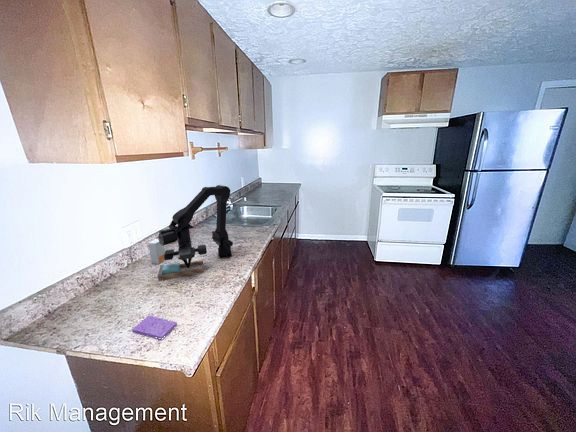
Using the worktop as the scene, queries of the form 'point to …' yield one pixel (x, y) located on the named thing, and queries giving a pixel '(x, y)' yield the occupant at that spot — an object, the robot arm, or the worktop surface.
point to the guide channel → (183, 273)
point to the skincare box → (156, 251)
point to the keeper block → (171, 268)
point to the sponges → (154, 327)
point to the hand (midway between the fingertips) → (188, 267)
